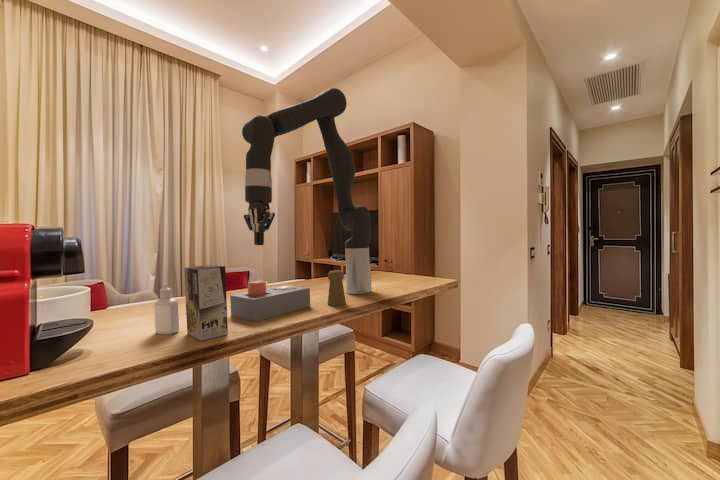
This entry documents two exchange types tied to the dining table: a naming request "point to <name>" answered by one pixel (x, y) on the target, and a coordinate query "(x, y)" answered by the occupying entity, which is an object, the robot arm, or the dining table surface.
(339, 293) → the cork
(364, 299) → the dining table surface
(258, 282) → the red plunger
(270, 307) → the console
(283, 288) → the white rounded block
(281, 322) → the dining table surface
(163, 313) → the eye dropper bottle
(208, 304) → the coffee box
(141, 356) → the dining table surface
